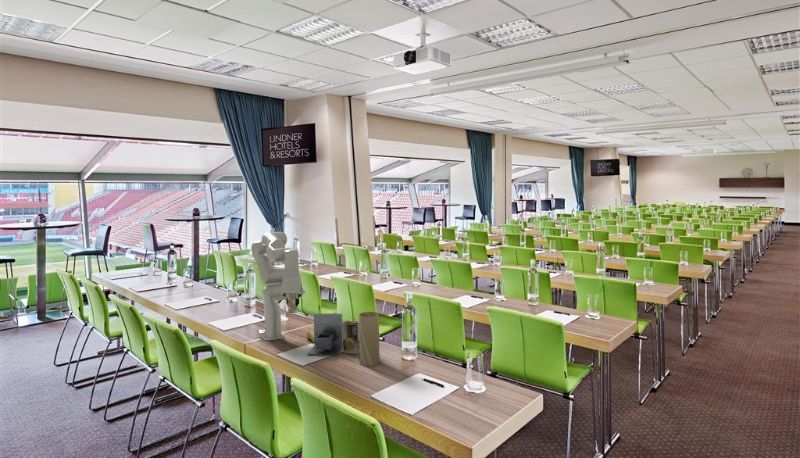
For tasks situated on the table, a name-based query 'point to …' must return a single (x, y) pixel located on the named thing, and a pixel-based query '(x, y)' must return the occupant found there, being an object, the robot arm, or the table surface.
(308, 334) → the plastic component
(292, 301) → the wooden block
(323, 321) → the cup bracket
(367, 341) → the tube
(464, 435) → the table surface
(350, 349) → the coffee box
